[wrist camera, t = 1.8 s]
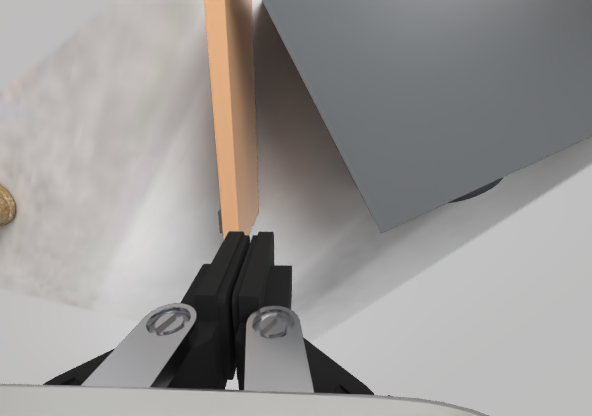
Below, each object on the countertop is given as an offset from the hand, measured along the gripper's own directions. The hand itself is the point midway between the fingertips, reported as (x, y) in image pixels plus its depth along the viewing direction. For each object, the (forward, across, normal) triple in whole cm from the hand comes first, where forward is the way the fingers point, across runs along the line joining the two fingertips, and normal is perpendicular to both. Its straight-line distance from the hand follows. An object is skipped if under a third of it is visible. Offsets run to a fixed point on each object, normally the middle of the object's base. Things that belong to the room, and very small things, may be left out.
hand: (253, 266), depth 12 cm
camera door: (+15, +3, -4) cm, 16 cm away
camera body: (+15, -8, -9) cm, 20 cm away
